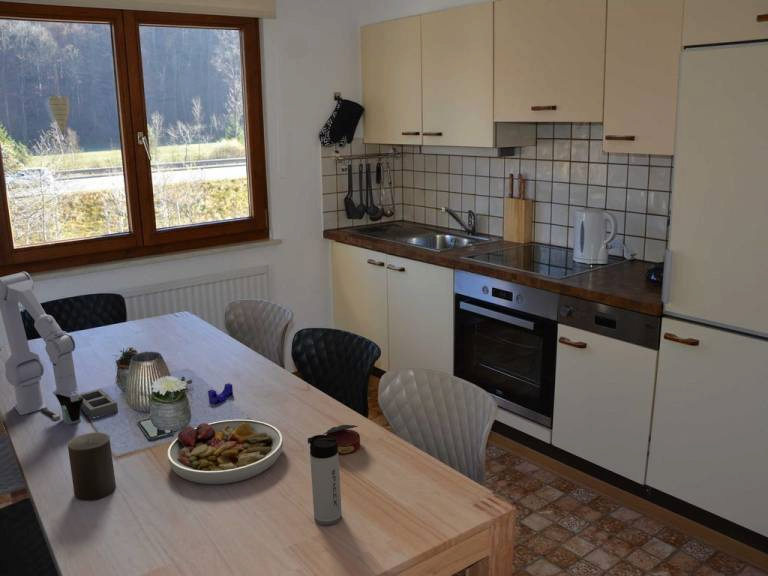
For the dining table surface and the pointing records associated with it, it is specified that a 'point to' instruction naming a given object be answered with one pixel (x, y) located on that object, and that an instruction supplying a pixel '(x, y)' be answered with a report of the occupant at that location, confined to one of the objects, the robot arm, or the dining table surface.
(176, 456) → the bowl
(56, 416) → the cable piece
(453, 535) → the dining table surface
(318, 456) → the travel mug
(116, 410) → the grey piece
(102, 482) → the pillar candle
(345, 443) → the canned food
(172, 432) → the smartphone
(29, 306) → the robot arm
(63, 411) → the block
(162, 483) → the dining table surface
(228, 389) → the cable holder
